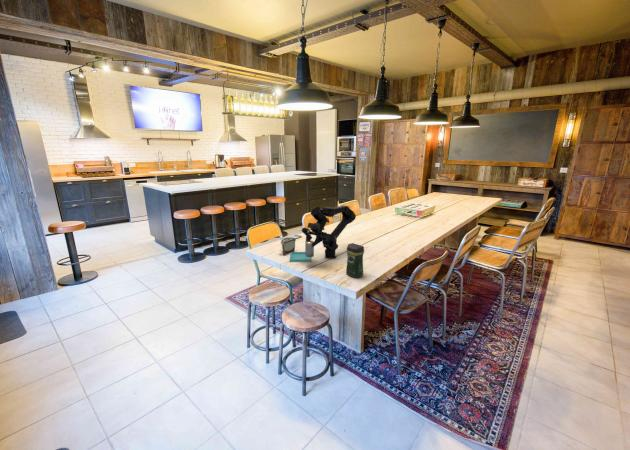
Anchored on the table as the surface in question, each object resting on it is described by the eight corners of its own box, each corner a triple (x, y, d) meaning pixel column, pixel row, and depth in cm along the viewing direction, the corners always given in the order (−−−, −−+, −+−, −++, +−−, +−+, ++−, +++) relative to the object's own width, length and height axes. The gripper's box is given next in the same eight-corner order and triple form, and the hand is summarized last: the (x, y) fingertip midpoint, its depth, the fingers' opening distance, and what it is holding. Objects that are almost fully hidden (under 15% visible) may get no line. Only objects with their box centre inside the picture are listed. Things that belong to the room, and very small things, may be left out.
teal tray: (311, 254, 203) (311, 251, 202) (311, 261, 189) (311, 259, 189) (290, 254, 203) (290, 252, 202) (289, 261, 189) (289, 259, 189)
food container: (289, 249, 212) (289, 236, 209) (296, 251, 208) (295, 237, 206) (277, 254, 203) (276, 240, 200) (283, 256, 199) (283, 242, 196)
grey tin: (313, 254, 183) (313, 240, 181) (313, 257, 178) (313, 243, 176) (305, 254, 183) (305, 240, 181) (305, 257, 178) (305, 243, 176)
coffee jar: (365, 275, 169) (366, 245, 165) (356, 279, 164) (357, 248, 160) (352, 270, 176) (353, 240, 172) (343, 274, 171) (344, 243, 167)
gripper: (303, 215, 184) (291, 236, 179) (326, 219, 173) (315, 242, 167) (311, 224, 192) (300, 244, 187) (334, 229, 181) (323, 251, 175)
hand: (309, 245), depth 179 cm, fingers closed on grey tin, 5 cm apart
